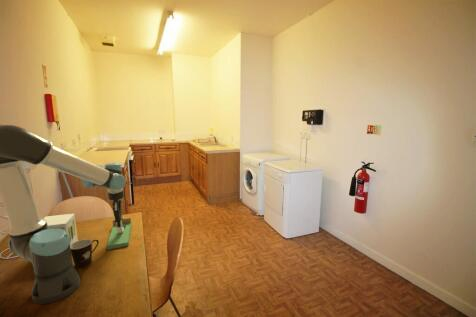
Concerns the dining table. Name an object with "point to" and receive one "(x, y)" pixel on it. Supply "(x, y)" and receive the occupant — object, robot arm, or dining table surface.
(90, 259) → the coffee mug
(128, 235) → the green
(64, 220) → the supplement box
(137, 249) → the dining table surface
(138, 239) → the dining table surface
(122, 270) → the dining table surface
